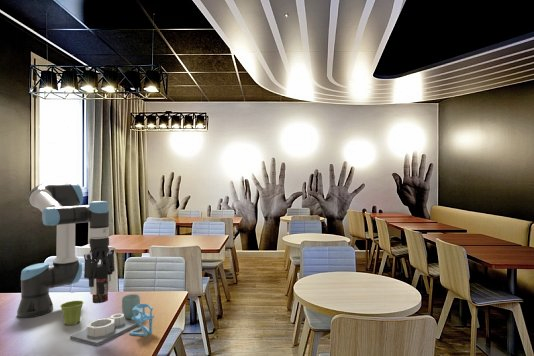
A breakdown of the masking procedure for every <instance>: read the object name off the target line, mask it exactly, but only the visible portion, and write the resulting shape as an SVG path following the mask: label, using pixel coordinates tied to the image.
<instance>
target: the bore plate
mask: <svg viewBox="0 0 534 356" xmlns="http://www.w3.org/2000/svg"><path fill="white" fill-rule="evenodd" d="M138 326H140V325H139V324H138V323H137V322H136V321H134V320H131V319H125V318H124V314H123V313H115V314H112V315H110V317H106V318H105V317H104V318H98V319H95V320H93V321H90V322H88V323H87V327H86V328H85V329H84V330H81V331H79V332H77V333H74V334H72V335H69V339H70V340H73V341H77V342H81V343H85V344H89V345H93V346H97V347H98V346H100V345H102V344H105V343H107V342H108V341H111V340H112V339H114V338H116V337H118V336H120V335H122V334H125V333H127V332H128V331H130V330H132V329H134V328H136V327H138Z"/></svg>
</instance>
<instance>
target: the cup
mask: <svg viewBox="0 0 534 356" xmlns="http://www.w3.org/2000/svg"><path fill="white" fill-rule="evenodd" d="M138 304H141V297H140V294H137V293H136V294H135V293H133V294H132V293H131V294H126V295H123V296H122V298H121V310H122V311H121V312H122V313H121V314H124V319H125V320H132V319H131V318H132V317H133V316H134V313H133V311H132V309H133V308H134V307H135V306H137V305H138ZM135 314H136V316H138V315H140V313H139V312H137V311H135Z"/></svg>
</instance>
